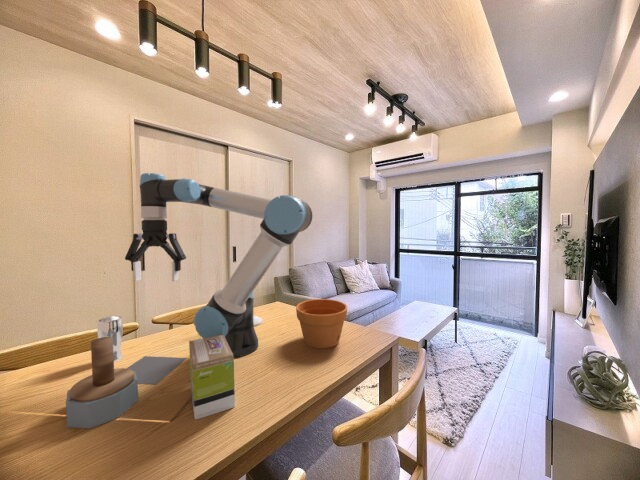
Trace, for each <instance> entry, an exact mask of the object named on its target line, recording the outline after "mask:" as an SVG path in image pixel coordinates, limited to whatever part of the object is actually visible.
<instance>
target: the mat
mask: <svg viewBox="0 0 640 480" xmlns="http://www.w3.org/2000/svg"><path fill="white" fill-rule="evenodd" d="M187 359H188V357H172V356H171V357H169V356H150V355H149V356H147V355H145V356H143V357H141V358H140V359H138V360H137V361H135V362H133V363H132V364H131V365H129V366H128V367H126V368H127V369H131V370H132V371H135V373H136V377H137V380H138V385H153V386H156V385H158V384H159V383H160V382H162V381H163V379H165V378H166V377H167V376H168V375H170V373H172V372H173V371H174V370H175V369H176V368H177V367H179V365H182V363H183V362H185V360H187Z"/></svg>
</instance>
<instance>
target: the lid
mask: <svg viewBox="0 0 640 480" xmlns="http://www.w3.org/2000/svg"><path fill="white" fill-rule="evenodd" d="M90 354H91V355H90V356H91V373H92V374H90V375H88V376H86V377H84V378H83V379H80V380H79V381H78V382H76V383H75V384H73V386H72V387H71V388H70V389H69V390H70V398H71V399H72V400H74V401H78V402H86V401H93V400H98V399H102V398H105V397H108V396H110V395H113V394H115V393H117V392H119V391H121V390H123V389H124V388H126V387H127V386H129V385H130V384H131V383H132V382H133V380H134V372H133V371H132V370H131V369H127V368H128V367H126V368H125V367H124V368H123V367H117V368H115V362H114V354H113V337H102V338H98V337H97V338H95V339H94V340H92V341H91V342H90Z"/></svg>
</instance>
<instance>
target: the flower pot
mask: <svg viewBox="0 0 640 480" xmlns="http://www.w3.org/2000/svg"><path fill="white" fill-rule="evenodd" d="M295 307H296V308H295V310H296V318H297V320H298V322H299V324H300V327H301V328H300V329H301V334H302V337H303V341H304V342H305V344H306V345H308V346H309V347H311V348H314V349H329V348H332V347H335V346H337V345H338V344H339V342H340V339H341V335H342V331H343V326H344V324H345V323H344V322H345V320H346V319H347V317H348V316H347V315H348V306H347V304H346V303H344V302H343V301H340V300H336V299H328V298H316V299H315V298H314V299H307V300H304V301H301V302H299V303H298V304H297V305H296V306H295Z"/></svg>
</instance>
